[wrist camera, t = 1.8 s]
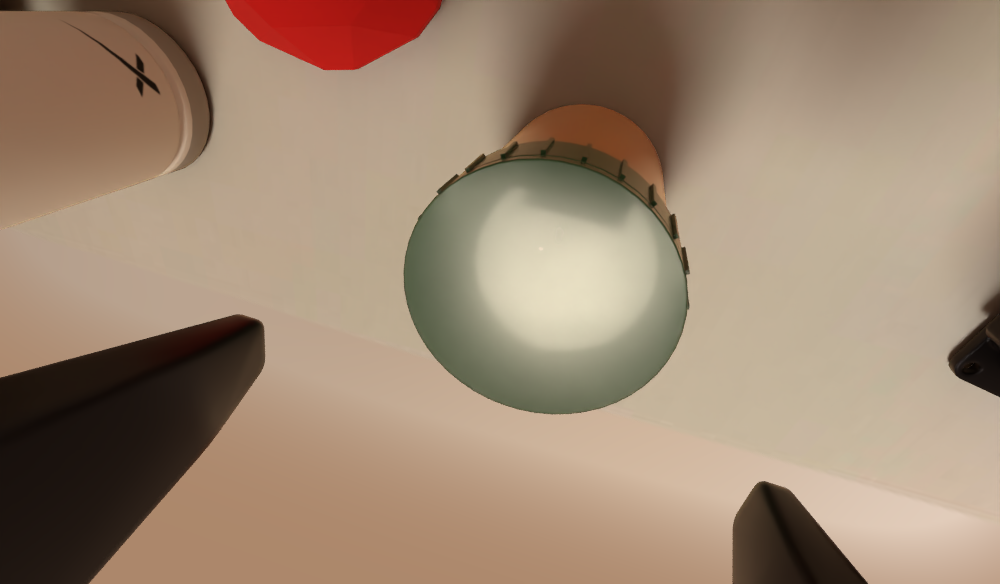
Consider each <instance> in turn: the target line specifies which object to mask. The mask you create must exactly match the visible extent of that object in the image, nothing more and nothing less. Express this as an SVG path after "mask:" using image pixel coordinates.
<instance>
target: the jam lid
mask: <svg viewBox="0 0 1000 584" xmlns="http://www.w3.org/2000/svg"><path fill="white" fill-rule="evenodd" d="M592 145H593V144H590V143H588V145H587V146H584V145H579V144H575V143H571V142H561V141H555V138H554V137H550V138H549V140H548V141H533V142H527V143H521V144H518V142H517V141H514V142H512V143H511V144H510V145H509V146H508V147H506V148H503V149H500V150H498V151H496V152H493V153H491V154H489V155H487V156H485V155H484V154H482V155H480V156H479V157H478V158H477V159H476V160H474V161H473V162H472V163H471V164H470V165H469V166H468V167H466V168H465V171H464V172H463V173H462V174H461V175H460V176H458V175H457V174H456V175H455V176H454V177H452V178H451V179H450V180H449V181H448V182H447V183H445V184H444V185H443V186H442V187H441V188H440V189H439V190H438V191H437V193H438V195H437V196H436V197H435V198H434V199H433V201H432V202H431V203H430V204H429V205H428V207H427V208H426V209H425V210H424V212H423V213H422V214H421V215H420V216H419V218H418V222H417V223H416V225H415V227H414V230H413V232H412V235H411V237H410V240H409V243H408V247H407V251H406V255H405V264H404V289H405V295H406V300H407V305H408V308H409V311H410V314H411V318H412V320H413V322H414V325H415V327H416V329H417V331H418V333H419V335H420V337H421V338H422V340H423V342H424V343H425V345H426V346H427V348H428V349H429V350H430V352H431V353H432V354H433V356H434V357H435V358H436V359H437V361H438V362H439V363H440V364H441V365H442V366H443V367H444V368H445V369H446V370H447V371H448V372H449V373H451V374H452V375H453V376H454V377H455V378H457V379H458V380H459V381H460V382H462V383H463V384H465V385H466V386H467V387H469V388H471V389H472V390H473V391H475V392H477V393H479V394H481V395H483V396H484V397H486V398H488V399H491V400H493V401H495V402H498V403H501V404H503V405H506V406H509V407H512V408H516V409H519V410H524V411H529V412H534V413H544V414H572V413H581V412H587V411H591V410H595V409H599V408H603V407H605V406H608V405H611V404H614V403H616V402H618V401H620V400H622V399H624V398H626V397H628V396H630V395H632V394H633V393H635V392H636V391H637V390H639V389H640V388H642V387H643V386H645V385H646V384H647V383H648V382H649V381H650V380H651V379H652V378H653V377H655V376H656V375H657V374H658V372H659V371H660V370H661V369H662V368H663V366H664V365H665V364H666V363H667V361H668V360H669V358H670V357H671V355H672V353H673V352H674V350H675V348H676V346H677V344H678V342H679V339H680V337H681V334H682V332H683V328H684V324H685V320H686V316H687V309H689V300H688V290H687V278H686V274H690V272H689V266H688V260H687V254H686V248H685V247H681V243H680V238H679V232H678V226H677V219H676V216H675V214H672V215H671V214H670V212H669V210H668V209H667V207H666V205H665V203H664V202H663V200H662V199H661V198H660V196H659V195H658V194H657V189H656V185H655V184H654V183H653V184H652V185H650V184H649V183H648V182H647V181H646V180H645V179H644V178H643V177H642V176H641V175H640V174H638V173H637V172H636V171H634V170H633V169H632V168H630V167H629V166H628V165H627V163H628V161H626V160H625V159H623V161H622V162H621V161H620V160H618V159H616V158H614V157H612V156H611V155H609V154H607V153H604V152H602V151H599V150H596V149H594V148H592Z"/></svg>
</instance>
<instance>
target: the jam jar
mask: <svg viewBox="0 0 1000 584" xmlns="http://www.w3.org/2000/svg"><path fill="white" fill-rule="evenodd" d="M550 137H554V138H555V141H561V142H571V143H575V144H579V145H584V146H587V145H588V143H590V144H593V145H592V148H594V149H596V150H599V151H602V152H604V153H607V154H609V155H611V156H612V157H614V158H616V159H618V160H620V161H621V162H622V161H623V159H625V160H626V161H628V163H627V165H628V166H629V167H630V168H632V169H633V170H634V171H636V172H637V173H638V174H640V175H641V176H642V177H643V178H644V179H645V180H646V181H647V182H648V183H649V184H650V185H652V184H653V183H654V184H655V185H656V189H657V194H658V195H659V196H660V198H661V199H662V200H663V202H664V203H665V205H666V199H665V190H664V181H663V173H662V168H661V163H660V160H659V157H658V155H657V152H656V150H655V148H654V146H653V144H652V143H651V141H650V139H649V138H648V137H647V136H646V134H645V133H644V132H643V131H642V130H641V129H640V128H639V127H638V126H637V125H636V124H635V123H634V122H632V121H631V120H630V119H628V118H627V117H625V116H624V115H622V114H620V113H618V112H616V111H613V110H611V109H608V108H605V107H601V106H596V105H587V104H576V105H568V106H562V107H559V108H556V109H553V110H550V111H548V112H546V113H544V114H542V115H540V116H538V117H537V118H535V119H534V120H532V121H531V122H530V123H529V124H528V125H526V126H525V127H524V128H523V129H522V130H521V131H520V132H519V133H518V134H517V135H516V136H515V137H514V138H513V139H512V140H511V141H510V142H508V143H507V144H506V145H505V146H504V147H503V148H506V147H508V146H509V145H510V144H511V143H512V142H514V141H517V142H518V144H521V143H527V142H533V141H548V140H549V138H550ZM503 148H502V149H503Z"/></svg>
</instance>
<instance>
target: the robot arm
mask: <svg viewBox="0 0 1000 584" xmlns="http://www.w3.org/2000/svg"><path fill="white" fill-rule="evenodd" d="M264 363H265V339H264V326H263V324H262V322H261V321H259V320H257V319H254V318H251V317H248V316H245V315H240V314H237V315H232V316H229V317H225V318H221V319H217V320H214V321H210V322H206V323H203V324H199V325H195V326H192V327H188V328H184V329H180V330H176V331H173V332H169V333H165V334H161V335H158V336H154V337H150V338H147V339H143V340H139V341H135V342H132V343H128V344H124V345H121V346H117V347H113V348H109V349H106V350H102V351H99V352H94V353H91V354H87V355H83V356H80V357H76V358H72V359H68V360H65V361H61V362H57V363H53V364H50V365H46V366H42V367H39V368H35V369H31V370H27V371H24V372H20V373H16V374H13V375H9V376H5V377H1V378H0V584H89V583H90V581H91V580H92V579H93V578H94V577H95V576H96V575H97V573H98V572H99V571H100V570H101V569H102V568H103V567H104V565H105V564H106V563H107V562H108V561H109V560H110V559H111V557H112V556H113V555H114V554H115V553H116V552H117V551H118V549H119V548H120V547H121V546H122V545H123V543H124V542H125V541H126V540H127V539H128V538H129V537H130V536H131V535H132V533H133V532H134V531H135V530H136V529H137V527H138V526H139V525H140V524H141V523H142V522H143V521H144V519H145V518H146V517H147V516H148V515H149V514H150V513H151V512H152V510H153V509H154V508H155V507H156V506H157V505H158V503H159V502H160V501H161V500H162V499H163V498H164V497H165V495H166V494H167V493H168V492H169V491H170V490H171V489H172V488H173V486H174V485H175V484H176V483H177V482H178V481H179V479H180V478H181V477H182V476H183V475H184V474H185V473H186V471H187V470H188V469H189V468H190V467H191V466H192V465H193V463H194V462H195V461H196V460H197V459H198V458H199V457H200V455H201V454H202V453H203V452H204V451H205V449H206V448H207V447H208V446H209V444H210V443H211V442H212V440H213V439H214V438H215V436H216V435H217V434H218V432H219V431H220V430H221V428H222V427H223V425H224V424H225V422H226V421H227V420H228V418H229V417H230V415H231V414H232V413H233V411H234V410H235V408H236V407H237V405H238V404H239V403H240V401H241V400H242V398H243V397H244V395H245V394H246V393H247V391H248V390H249V388H250V387H251V386H252V384H253V383H254V381H255V379H257V377H258V376H259V374H260V373H261V371H262V369H263V366H264ZM968 363H974V364H973V365H972V366H970V367H969V368H963V367H964V366H965V365H967V364H968ZM949 367H950V369H951V370H952V371H953V373H954V374H955V375H956V376H957V377H959V378H960V379H962V380H964V381H966V382H969V383H971V384H973V385H975V386H977V387H979V388H981V389H984V390H986V391H988V392H990V393H992V394H994V395H996V396H999V397H1000V314H999V315H997V316H996V317H995V318H994V319H993V320H992V321H991V322H990V323H989V324H988V325H987V326H985V327H984V328H983V329H982V330H981V331H980V332H979V333H978V334H977V335H976V336H974V337H973V338H972V339H971V340H970V341H969V342H968V343H967V344H966V345H965V346H964V347H962V348H961V349H960V350H959V351H958V352H957V353H956V354H955V355H954V356H953V357H952V358H951V359H950V361H949ZM733 584H868V583H867V582H866V581H865V579H864V578H863V577H862V576H861V575H860V573H859V572H858V571H857V570H856V569H855V567H854V566H853V565H852V564H851V563H850V561H849V560H848V559H847V558H846V557H845V555H844V554H843V553H842V552H841V551H840V549H839V548H838V547H837V546H836V545H835V543H834V542H833V541H832V540H831V539H830V537H829V536H828V535H827V534H826V533H825V531H824V530H823V529H822V528H821V527H820V525H819V524H818V523H817V522H816V521H815V519H814V518H813V517H812V516H811V515H810V513H809V512H808V511H807V510H806V509H805V507H804V506H803V505H802V504H801V503H800V501H799V500H798V499H797V498H796V497H795V495H794V494H793V493H792V492H791V491H790V490H788V489H787V488H784V487H781V486H778V485H775V484H771V483H769V482H765V481H762V482H759V483H757V484H756V485H755V486H754V488H753V489H752V491H751V492H750V494H749V495H748V497H747V499H746V500H745V502H744V503H743V505H742V506H741V508H740V509H739V511H738V513H737V514H736V517H735V520H734V524H733Z"/></svg>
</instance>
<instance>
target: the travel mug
mask: <svg viewBox="0 0 1000 584" xmlns="http://www.w3.org/2000/svg"><path fill="white" fill-rule="evenodd" d="M209 116H210V115H209V108H208V102H207V98H206V94H205V91H204V88H203V84H202V82H201V80H200V78H199V76H198V74H197V72H196V69H195V68H194V66H193V65H192V63H191V62H190V60H189V58H188V57H187V55H186V54H185V53H184V51H183V50H182V49H181V48H180V47H179V46H178V44H177V43H176V42H175V41H174V40H173V39H172V38H171V37H170V36H168V35H167V34H166V33H165V32H164V31H163V30H162V29H160V28H159V27H157V26H156V25H154V24H153V23H151V22H149V21H148V20H146V19H144V18H142V17H139V16H136V15H134V14H131V13H125V12H119V11H89V12H80V11H0V230H2V229H5V228H8V227H11V226H14V225H17V224H20V223H23V222H26V221H29V220H32V219H35V218H38V217H41V216H44V215H47V214H50V213H53V212H56V211H59V210H62V209H64V208H67V207H70V206H73V205H76V204H79V203H82V202H85V201H88V200H91V199H94V198H97V197H100V196H103V195H106V194H109V193H112V192H115V191H118V190H121V189H124V188H127V187H130V186H133V185H135V184H138V183H141V182H144V181H147V180H150V179H153V178H155V177H158V176H162V175H165V174H168V173H171V172H174V171H177V170H180V169H183V168H185V167H187V166H188V165H190V164H191V163H193V162H194V161H195V160H196V159H197V158H198V156H199V155H200V154H201V152H202V150H203V148H204V146H205V144H206V141H207V137H208V132H209Z"/></svg>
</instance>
